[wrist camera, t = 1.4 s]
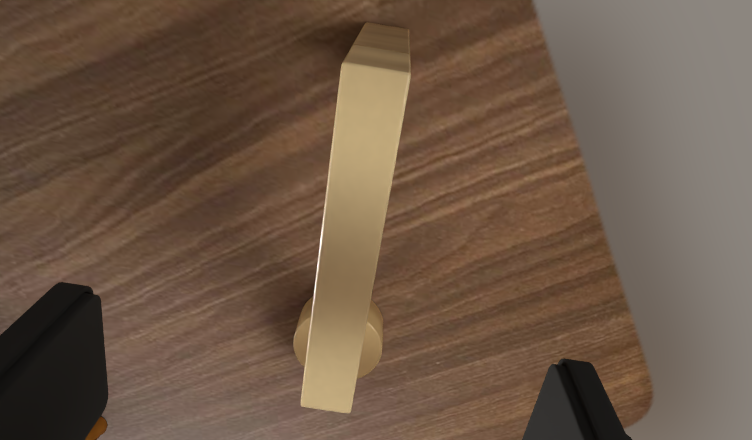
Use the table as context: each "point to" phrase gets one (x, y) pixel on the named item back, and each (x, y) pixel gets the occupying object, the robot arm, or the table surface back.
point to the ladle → (354, 220)
